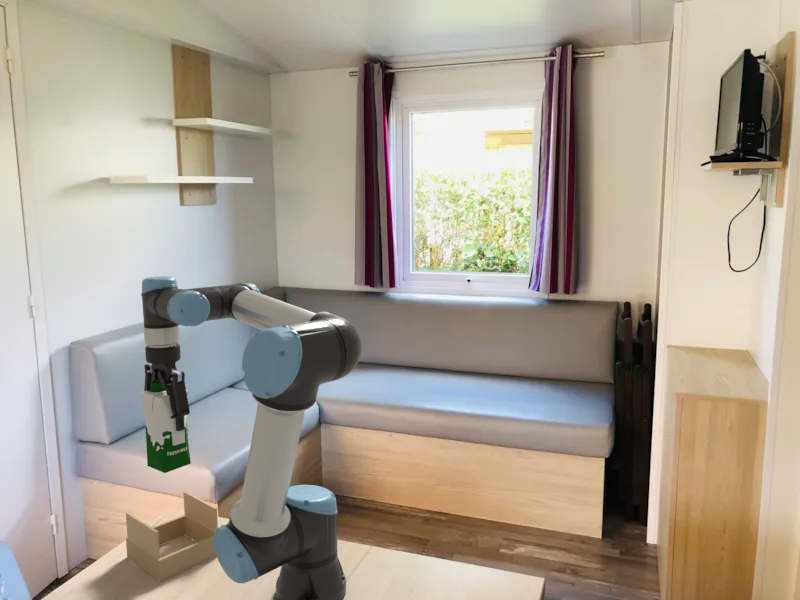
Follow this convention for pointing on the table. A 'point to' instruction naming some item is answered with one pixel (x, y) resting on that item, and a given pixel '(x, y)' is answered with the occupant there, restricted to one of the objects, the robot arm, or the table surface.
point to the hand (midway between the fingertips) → (167, 438)
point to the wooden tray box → (193, 524)
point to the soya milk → (162, 432)
